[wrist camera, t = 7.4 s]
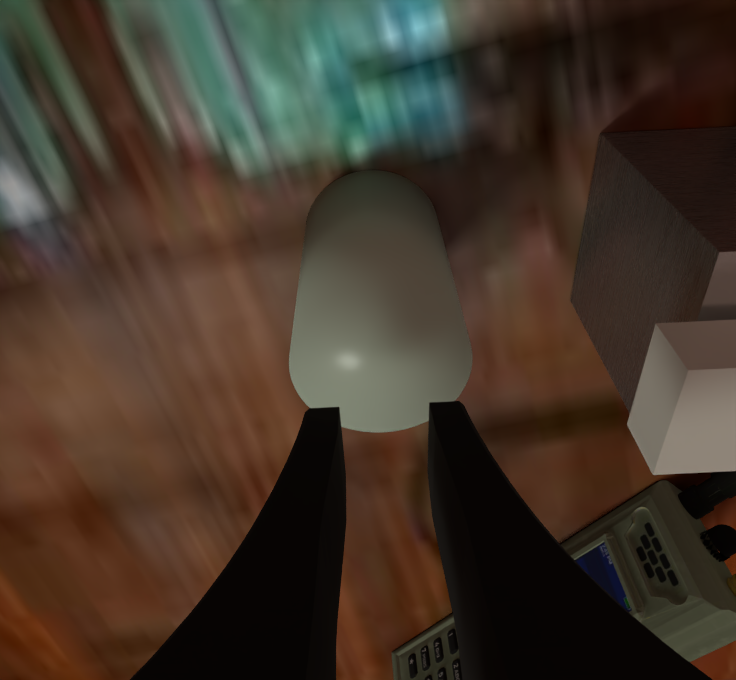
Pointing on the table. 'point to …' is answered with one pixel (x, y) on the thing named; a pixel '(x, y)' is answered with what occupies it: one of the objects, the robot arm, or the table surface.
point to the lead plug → (377, 306)
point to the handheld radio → (635, 576)
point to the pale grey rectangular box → (688, 399)
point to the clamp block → (656, 242)
